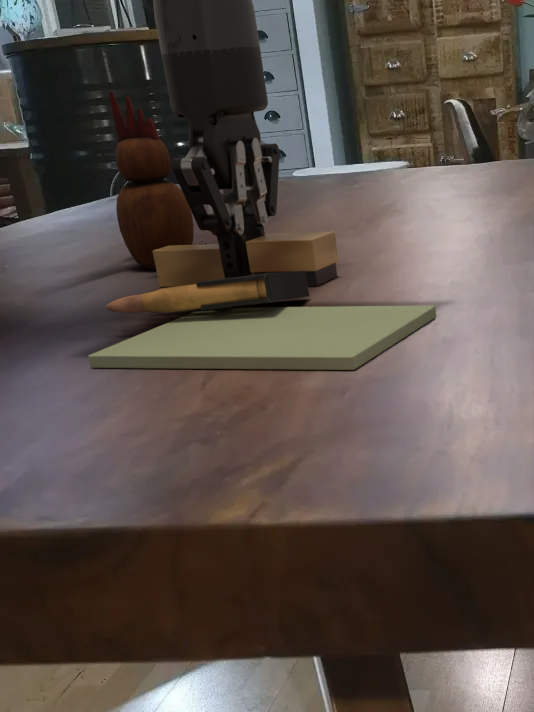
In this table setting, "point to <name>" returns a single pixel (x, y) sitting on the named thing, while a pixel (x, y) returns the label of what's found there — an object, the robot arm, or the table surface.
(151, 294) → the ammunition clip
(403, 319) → the felt mat
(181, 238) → the wooden figurine
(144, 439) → the table surface
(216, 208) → the robot arm
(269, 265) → the brush
